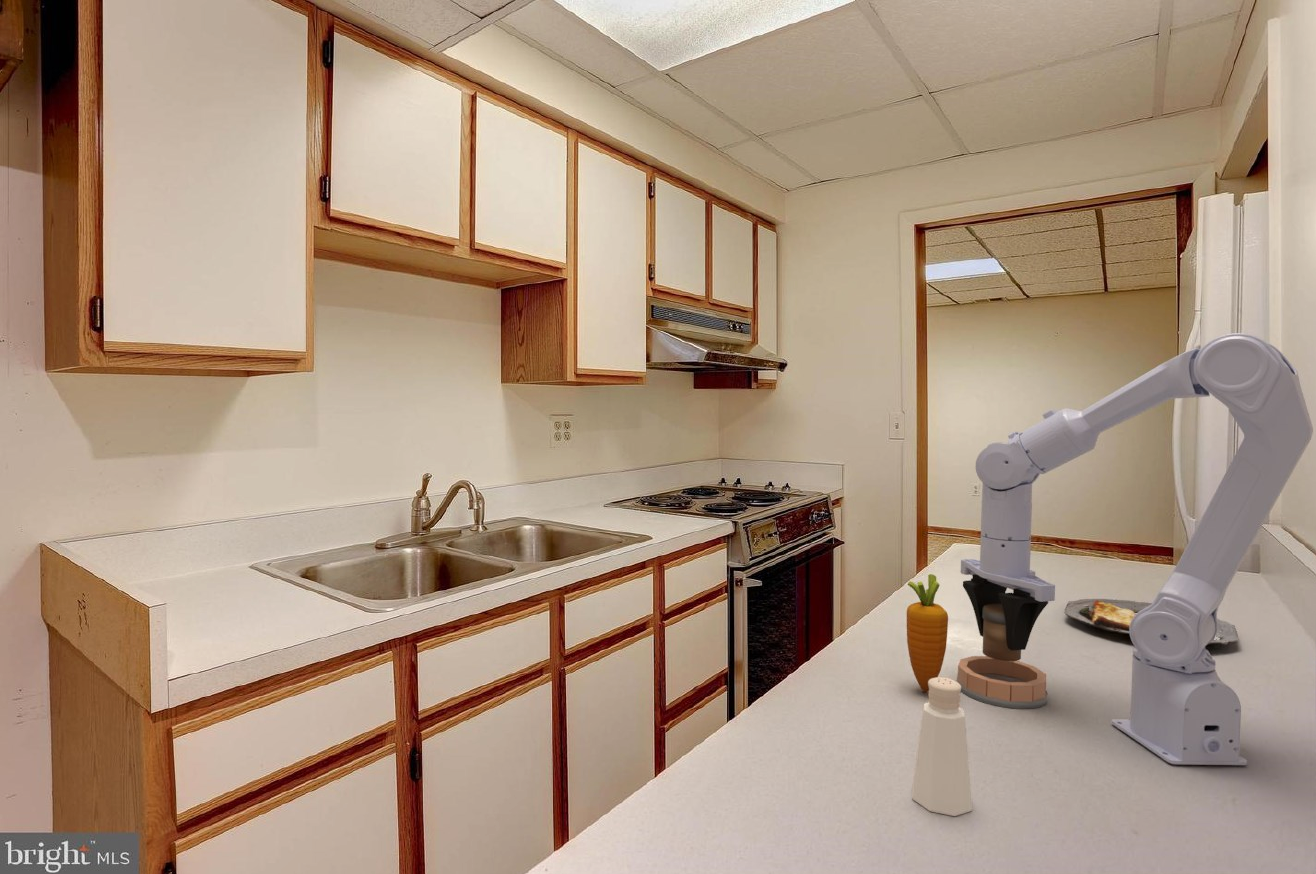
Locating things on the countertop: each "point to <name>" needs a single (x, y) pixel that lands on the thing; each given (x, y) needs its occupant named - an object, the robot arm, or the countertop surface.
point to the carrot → (926, 633)
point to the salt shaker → (943, 752)
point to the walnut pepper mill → (996, 634)
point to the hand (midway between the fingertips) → (1002, 642)
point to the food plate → (1127, 617)
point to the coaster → (1002, 682)
